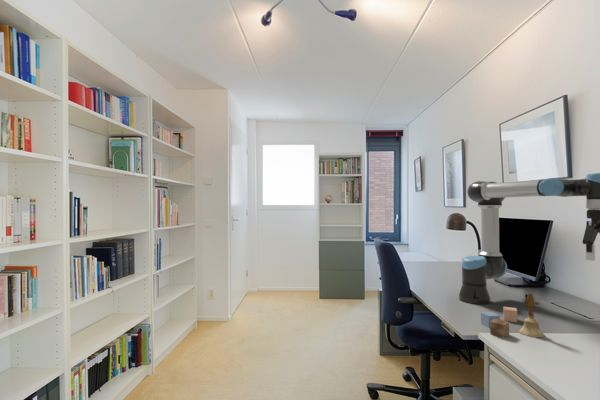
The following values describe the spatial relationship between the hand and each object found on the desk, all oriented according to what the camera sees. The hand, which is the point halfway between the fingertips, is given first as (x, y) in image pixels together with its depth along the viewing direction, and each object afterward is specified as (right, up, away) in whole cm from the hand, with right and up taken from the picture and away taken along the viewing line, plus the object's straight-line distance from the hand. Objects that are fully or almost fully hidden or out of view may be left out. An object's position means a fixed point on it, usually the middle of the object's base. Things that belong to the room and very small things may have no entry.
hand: (598, 259), depth 141 cm
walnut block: (-49, -28, -11) cm, 57 cm away
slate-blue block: (-47, -28, -1) cm, 54 cm away
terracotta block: (-34, -28, +6) cm, 44 cm away
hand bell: (-36, -28, -10) cm, 46 cm away
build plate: (-5, -30, +35) cm, 47 cm away
